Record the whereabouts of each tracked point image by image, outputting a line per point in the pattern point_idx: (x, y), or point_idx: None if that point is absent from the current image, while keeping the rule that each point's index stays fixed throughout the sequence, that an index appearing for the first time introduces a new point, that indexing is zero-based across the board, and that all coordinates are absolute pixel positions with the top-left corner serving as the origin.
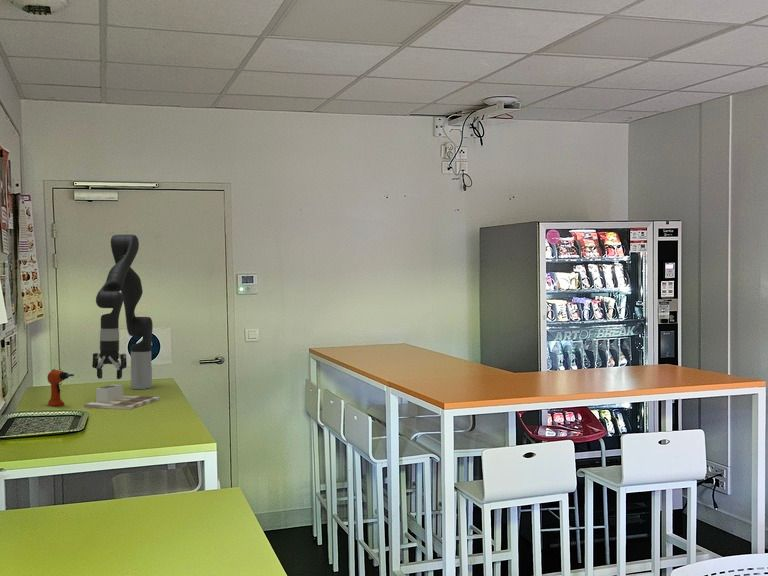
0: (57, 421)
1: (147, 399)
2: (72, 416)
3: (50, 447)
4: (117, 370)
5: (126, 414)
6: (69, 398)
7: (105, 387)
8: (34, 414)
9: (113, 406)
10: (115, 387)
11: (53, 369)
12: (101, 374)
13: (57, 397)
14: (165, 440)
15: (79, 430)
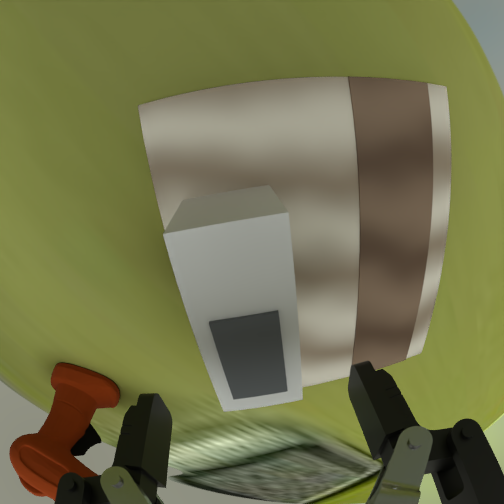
0: (301, 473)
1: (435, 184)
2: (297, 452)
3: None
4: (381, 455)
5: (424, 387)
6: None
7: (261, 385)
8: (184, 463)
9: None
10: (297, 323)
11: (35, 494)
12: (155, 427)
13: (93, 413)
14: (486, 422)
15: (380, 468)
